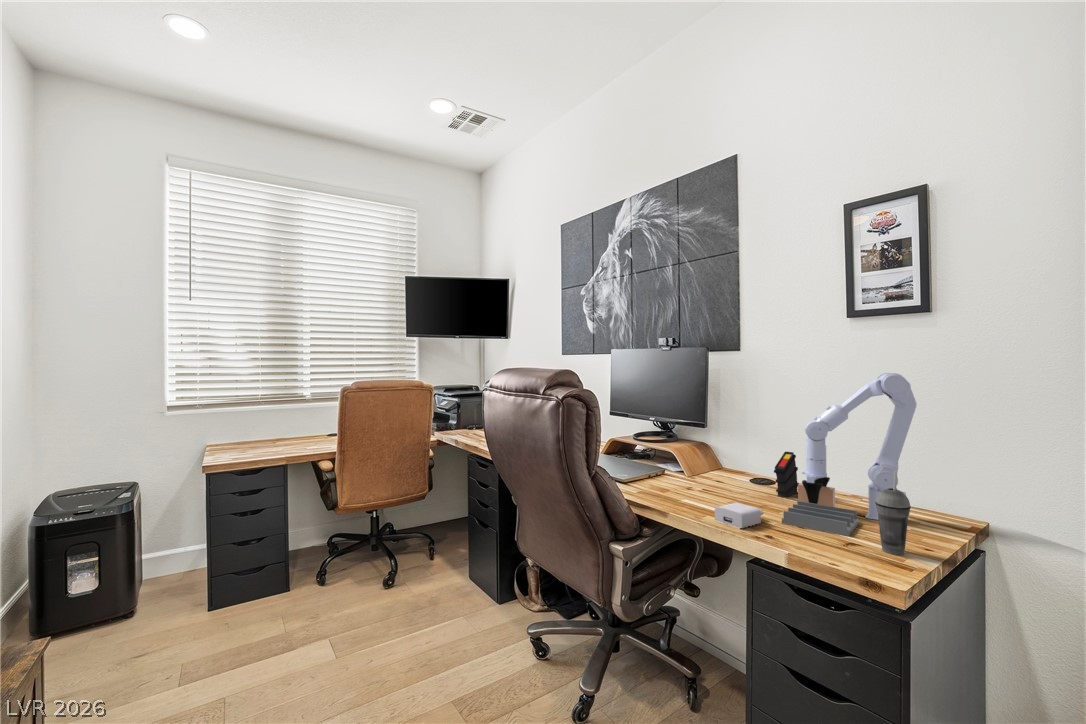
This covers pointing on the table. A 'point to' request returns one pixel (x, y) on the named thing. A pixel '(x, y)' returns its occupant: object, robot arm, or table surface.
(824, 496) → the plate
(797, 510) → the rack
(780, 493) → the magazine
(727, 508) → the charger
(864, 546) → the table surface
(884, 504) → the beverage cup
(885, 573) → the table surface
